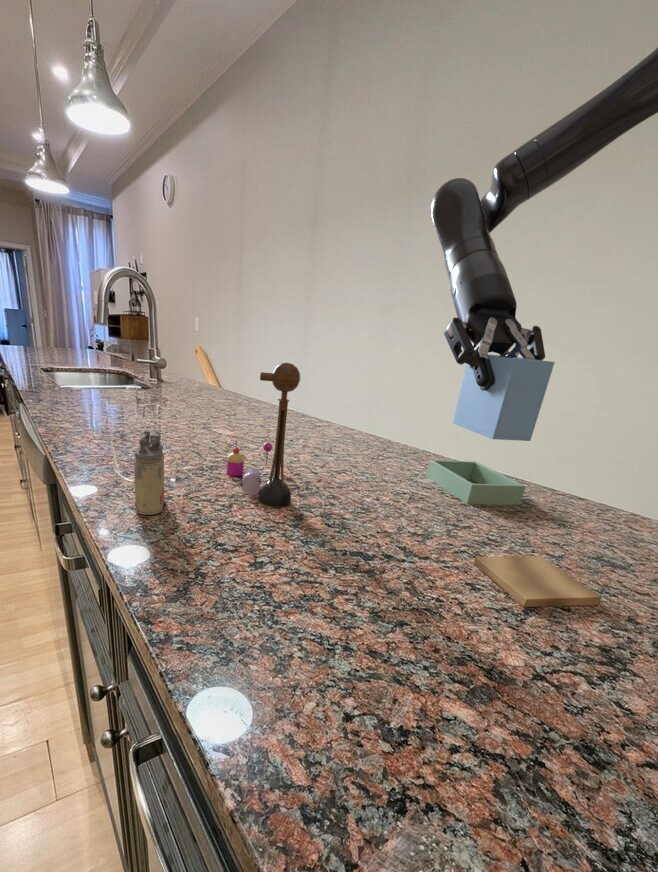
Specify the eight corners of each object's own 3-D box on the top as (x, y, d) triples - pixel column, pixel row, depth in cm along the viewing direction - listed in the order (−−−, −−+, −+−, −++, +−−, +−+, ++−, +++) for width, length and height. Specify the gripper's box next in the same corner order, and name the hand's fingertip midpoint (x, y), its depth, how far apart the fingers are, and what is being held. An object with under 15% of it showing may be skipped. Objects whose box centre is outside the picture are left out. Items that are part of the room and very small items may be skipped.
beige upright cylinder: (160, 516, 59) (159, 441, 55) (131, 515, 58) (127, 440, 54) (165, 497, 65) (165, 429, 61) (138, 496, 65) (136, 427, 61)
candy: (275, 497, 69) (278, 459, 67) (222, 494, 68) (224, 455, 66) (270, 464, 85) (273, 432, 83) (228, 461, 85) (230, 429, 83)
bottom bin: (469, 487, 82) (476, 461, 80) (516, 516, 70) (526, 486, 68) (423, 486, 81) (429, 459, 79) (463, 515, 69) (472, 484, 67)
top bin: (485, 424, 68) (504, 356, 64) (530, 441, 59) (554, 361, 55) (452, 423, 67) (469, 353, 63) (492, 439, 58) (514, 358, 54)
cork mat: (538, 563, 55) (541, 556, 55) (598, 605, 47) (602, 597, 47) (473, 563, 54) (475, 556, 53) (523, 607, 45) (526, 599, 45)
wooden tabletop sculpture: (252, 506, 65) (262, 361, 57) (251, 494, 69) (260, 359, 61) (292, 507, 65) (307, 365, 58) (288, 496, 70) (302, 362, 62)
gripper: (449, 265, 61) (477, 365, 54) (542, 277, 63) (579, 373, 57) (423, 309, 67) (445, 402, 61) (507, 317, 70) (537, 408, 64)
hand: (509, 388), depth 59 cm, fingers closed on top bin, 5 cm apart
